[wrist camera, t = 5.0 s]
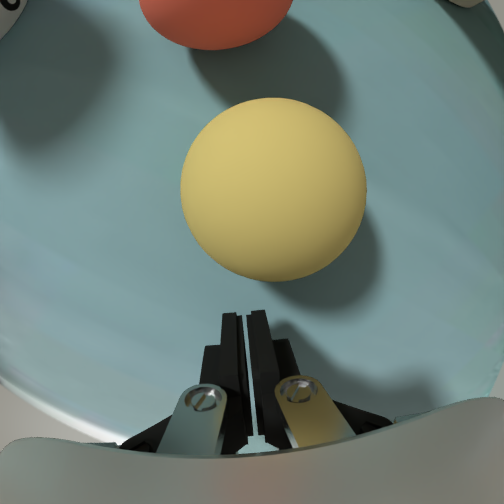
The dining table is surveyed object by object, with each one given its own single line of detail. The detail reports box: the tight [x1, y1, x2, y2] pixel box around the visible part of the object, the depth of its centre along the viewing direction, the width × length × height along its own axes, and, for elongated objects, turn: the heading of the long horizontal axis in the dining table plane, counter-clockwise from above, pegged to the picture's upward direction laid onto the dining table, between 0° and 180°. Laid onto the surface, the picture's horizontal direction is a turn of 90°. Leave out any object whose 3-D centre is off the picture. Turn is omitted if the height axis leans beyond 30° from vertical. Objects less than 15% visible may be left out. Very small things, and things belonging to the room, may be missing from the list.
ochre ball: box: [181, 98, 367, 282], centre depth 8 cm, size 6×6×6 cm
